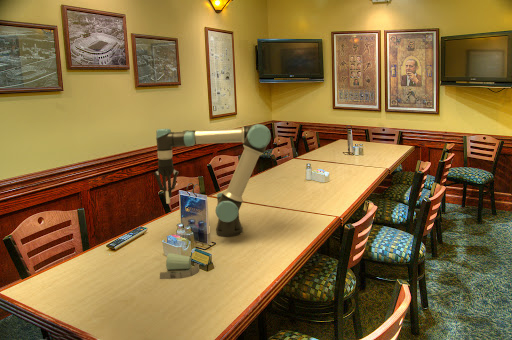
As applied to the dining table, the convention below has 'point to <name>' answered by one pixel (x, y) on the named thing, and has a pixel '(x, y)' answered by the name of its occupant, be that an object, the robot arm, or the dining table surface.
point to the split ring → (180, 273)
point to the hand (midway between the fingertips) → (168, 203)
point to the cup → (178, 262)
